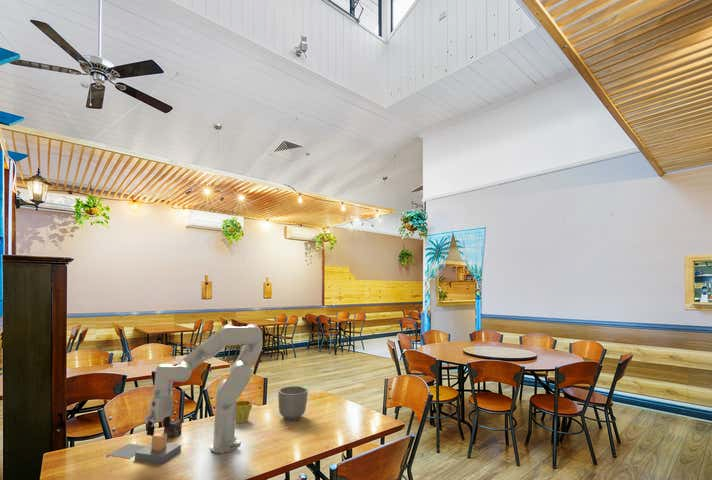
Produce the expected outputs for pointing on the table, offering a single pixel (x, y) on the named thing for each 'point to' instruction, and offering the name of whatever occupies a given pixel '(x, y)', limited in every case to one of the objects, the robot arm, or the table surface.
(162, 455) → the socket block
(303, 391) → the planter
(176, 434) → the box
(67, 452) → the table surface
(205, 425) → the table surface
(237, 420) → the plant pot
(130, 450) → the mat
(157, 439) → the plug
